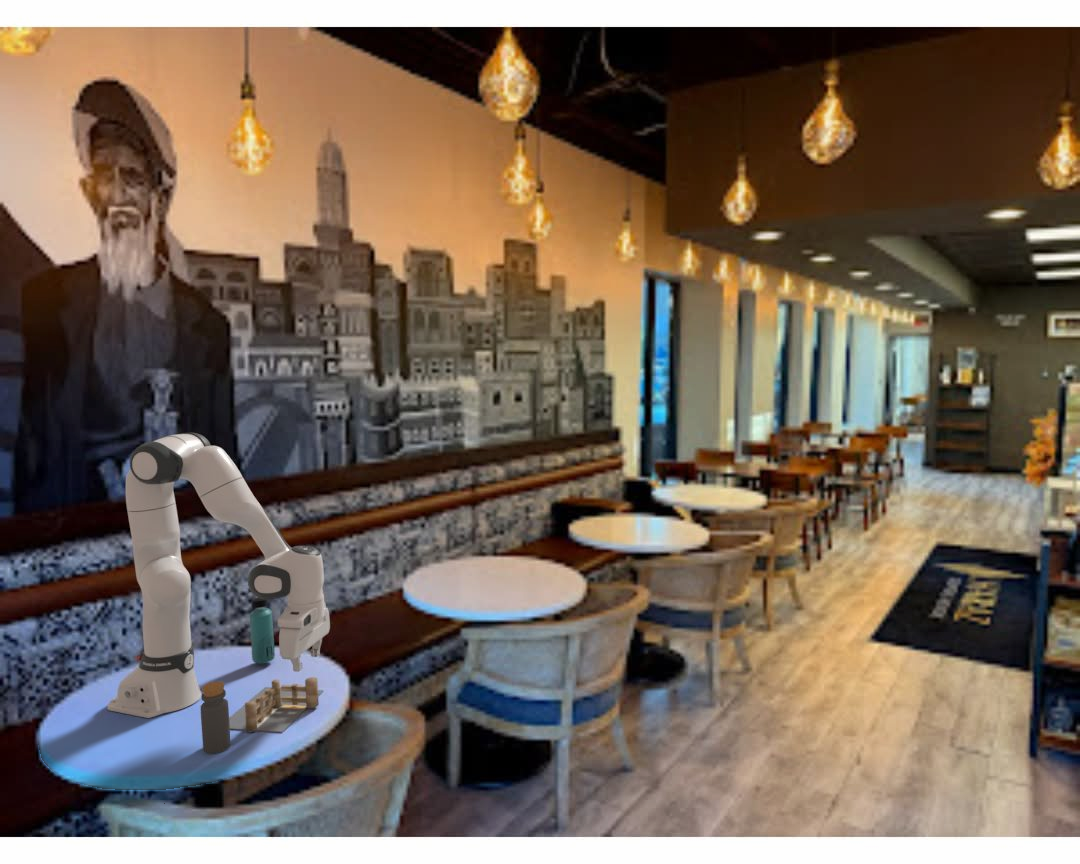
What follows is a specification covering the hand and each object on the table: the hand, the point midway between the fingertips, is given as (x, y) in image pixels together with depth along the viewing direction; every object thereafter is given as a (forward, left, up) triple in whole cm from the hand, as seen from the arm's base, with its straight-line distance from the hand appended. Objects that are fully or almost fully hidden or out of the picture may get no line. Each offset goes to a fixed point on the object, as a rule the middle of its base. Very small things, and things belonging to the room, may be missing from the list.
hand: (306, 663), depth 182 cm
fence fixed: (-9, -6, -12) cm, 16 cm away
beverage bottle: (-27, +25, -13) cm, 39 cm away
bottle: (-13, -20, -13) cm, 27 cm away
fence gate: (-3, +1, -12) cm, 12 cm away
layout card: (-9, -1, -12) cm, 16 cm away
